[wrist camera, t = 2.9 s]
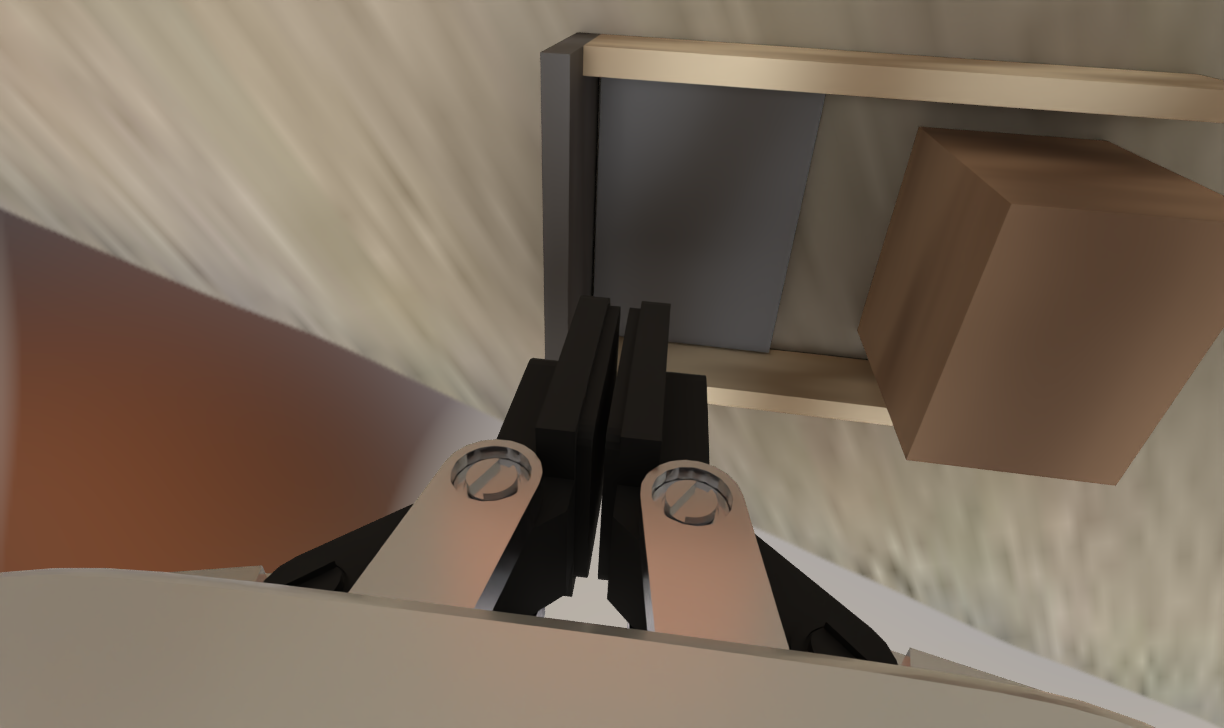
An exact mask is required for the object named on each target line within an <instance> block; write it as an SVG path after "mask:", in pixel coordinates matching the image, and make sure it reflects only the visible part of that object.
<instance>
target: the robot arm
mask: <svg viewBox="0 0 1224 728" xmlns="http://www.w3.org/2000/svg"><path fill="white" fill-rule="evenodd" d="M670 308H671V304H670V303H659V302H648V301H642V303H641V308H629V313H628V318H627V324H626V329H625V334H624V340H623V345H622V350H621V356H620V361H619V366H618V372H617V363H618V347H619V331H620V315H621V307H620V306H610V298H605V297H594V296H584V295H581V296H580V298H579V301H578V304H577V307H576V310H575V313H574V316H573V319H572V322H571V325H570V328H569V331H568V333H567V336H566V339H565V342H564V345H563V348H562V351H561V354H560V357H559V360H558V361H557V360H547V359H537V358H532V359H530V361H529V363H528V365H527V367H526V370H525V372H524V375H523V377H522V379H521V382H520V384H519V387H518V389H517V391H516V394H515V396H514V399H513V401H512V403H511V406H510V408H509V411H508V413H507V415H506V418H505V420H504V423H503V425H502V427H501V430H500V432H499V435H498V437H497V439H495V440H485V441H479V442H476V443H473V444H469V445H466V446H465V447H463V448H461V449H460V450H458V451H456V452H454V453H453V454H452V455H451V456H450V457H449V458H448V459H447V460H446V461H445V463H444V464H443V465H442V466H441V468H440V469H439V470H438V472H437V473H436V474H435V476H434V477H433V479H432V480H431V481H430V483H429V484H428V485H427V487H426V488H425V489H424V491H423V492H422V494H421V495H420V496H419V497H418V499H417V500H416V502H415V503H414V504H412V505H410V506H407V507H405V508H403V509H401V510H398V511H396V512H394V513H392V514H390V515H387V516H385V517H383V518H381V519H378V520H376V521H374V522H372V523H370V524H367V525H365V526H363V527H361V528H359V529H356V530H354V531H352V532H350V533H348V534H345V535H343V536H341V537H339V538H336V539H334V540H332V541H330V542H328V543H325V544H323V545H321V546H319V547H317V548H314V549H312V550H310V551H308V552H305V553H303V554H301V555H299V556H297V557H295V558H293V559H292V560H290V561H288V562H286V563H285V564H283V565H281V566H280V567H278V568H277V569H276V570H275V571H274V572H273V573H269V574H265V572H264V569H263V567H262V566H251V567H236V568H223V569H209V570H195V571H182V572H153V571H139V570H123V569H109V568H54V569H41V570H30V571H16V572H4V573H0V728H1155V727H1153V726H1151V725H1148V724H1146V723H1144V722H1141V721H1138V720H1135V719H1132V718H1130V717H1127V716H1124V715H1121V714H1118V713H1115V712H1112V711H1110V710H1106V709H1104V708H1101V707H1098V706H1095V705H1092V704H1089V703H1086V702H1083V701H1080V700H1076V699H1072V698H1068V697H1064V696H1060V695H1056V694H1052V693H1048V692H1044V691H1041V690H1038V689H1035V688H1032V687H1029V686H1026V685H1023V684H1020V683H1017V682H1014V681H1010V680H1007V679H1004V678H1001V677H998V676H995V675H992V674H989V673H986V672H983V671H980V670H977V669H973V668H971V667H968V666H965V665H961V664H958V663H955V662H952V661H949V660H946V659H943V658H940V657H937V656H934V655H931V654H928V653H925V652H922V651H918V650H915V649H912V648H910V649H909V650H908V652H907V654H906V655H903V654H900V653H897V652H894V651H891V650H890V649H889V647H888V646H887V644H886V642H884V641H883V639H882V638H881V637H880V636H879V635H878V634H877V633H876V632H874V630H872V628H870V627H869V626H868V625H867V624H866V623H864V622H863V621H862V620H861V619H859V618H858V617H857V616H856V615H854V614H853V613H852V612H851V611H849V610H848V609H847V608H846V607H845V606H843V605H842V604H841V603H840V602H838V601H837V600H836V599H835V598H833V597H832V596H831V595H829V594H828V593H827V592H826V591H825V590H823V589H822V588H821V587H820V586H819V585H817V584H816V583H815V582H813V581H812V580H811V579H810V578H809V577H807V576H806V575H805V574H804V573H803V572H801V571H800V570H799V569H798V568H796V567H795V566H794V565H792V564H791V563H790V562H789V561H788V560H786V559H785V558H784V557H783V556H781V555H780V554H779V553H778V552H777V551H775V550H774V549H773V548H772V547H770V546H769V545H768V544H767V543H765V542H764V541H763V540H762V539H761V538H759V537H758V536H757V535H756V534H755V533H754V530H753V526H752V523H751V520H750V516H749V513H748V510H747V506H746V503H745V500H744V496H743V494H742V492H741V490H740V488H739V486H738V484H737V483H736V482H735V481H734V480H733V479H732V478H731V477H730V476H729V475H728V474H727V473H725V472H723V471H722V470H720V469H718V468H717V467H715V466H712V465H709V435H708V404H707V379H706V375H696V374H686V373H677V372H667V371H666V368H667V353H668V338H669V323H670ZM601 499H602V509H601V528H600V547H599V565H598V579H601V580H608V594H607V599H608V600H609V602H610V603H611V604H612V605H613V606H614V607H615V608H616V609H617V611H618V612H619V613H620V614H621V615H622V616H623V617H624V618H625V619H626V620H627V622H628V623H627V628H621V627H614V626H606V625H598V624H590V623H583V622H575V621H568V620H560V619H552V618H544V615H545V607H546V606H547V605H549V604H551V603H552V602H554V601H555V600H557V599H559V598H560V597H562V596H570V597H572V594H573V589H574V584H575V579H576V576H578V577H586V578H587V577H588V574H589V569H590V563H591V557H592V551H593V546H594V540H595V534H596V528H597V522H598V517H599V511H600V505H601Z"/></svg>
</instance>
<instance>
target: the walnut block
mask: <svg viewBox="0 0 1224 728" xmlns="http://www.w3.org/2000/svg"><path fill="white" fill-rule="evenodd" d="M1223 328H1224V196H1223V195H1221V194H1219V193H1217V192H1215V191H1212V190H1210V189H1208V188H1206V187H1204V186H1202V185H1200V184H1198V183H1195V182H1193V181H1191V180H1189V179H1187V178H1185V177H1183V176H1181V175H1178V174H1176V173H1174V172H1172V171H1170V170H1168V169H1166V168H1164V167H1161V166H1159V165H1157V164H1155V163H1153V162H1151V161H1149V160H1147V159H1145V158H1142V157H1140V156H1138V155H1136V154H1134V153H1132V152H1130V151H1128V150H1125V149H1123V148H1121V147H1119V146H1117V145H1115V144H1113V143H1111V142H1108V141H1103V140H1090V139H1076V138H1063V137H1050V136H1037V135H1023V134H1010V133H997V132H984V131H970V130H957V129H944V128H931V127H919V128H918V132H917V135H916V138H915V141H914V145H913V148H912V151H911V155H910V158H909V161H908V165H907V168H906V171H905V174H904V178H903V181H902V184H901V188H900V191H899V194H898V197H897V201H896V204H895V207H894V211H893V214H892V217H891V220H890V224H889V227H888V230H887V234H886V237H885V240H884V244H883V247H882V250H881V253H880V257H879V260H878V263H877V267H876V270H875V273H874V276H873V280H872V283H871V286H870V290H869V293H868V296H867V300H866V303H865V306H864V309H863V313H862V316H861V319H860V323H859V326H858V329H857V331H858V334H859V336H860V339H861V341H862V344H863V347H864V349H865V352H866V355H867V357H868V360H869V363H870V365H871V368H872V371H873V373H874V376H875V378H876V381H877V384H878V386H879V389H880V392H881V394H882V397H883V400H884V402H885V405H886V408H887V410H888V413H889V415H890V418H891V421H892V423H893V426H894V429H895V431H896V434H897V437H898V439H899V442H900V444H901V447H902V450H903V452H904V455H905V458H906V460H912V461H920V462H928V463H936V464H944V465H953V466H961V467H969V468H977V469H985V470H993V471H1001V472H1010V473H1018V474H1026V475H1034V476H1042V477H1050V478H1058V479H1067V480H1075V481H1083V482H1091V483H1099V484H1107V485H1115V486H1116V484H1117V483H1118V481H1119V480H1120V479H1121V477H1122V476H1123V474H1124V473H1125V471H1126V470H1127V468H1128V467H1129V465H1130V464H1131V462H1132V461H1133V459H1134V458H1135V457H1136V455H1137V454H1138V452H1139V451H1140V449H1141V448H1142V446H1143V445H1144V443H1145V442H1146V440H1147V439H1148V438H1149V436H1150V435H1151V433H1152V432H1153V430H1154V429H1155V427H1156V426H1157V424H1158V423H1159V421H1160V420H1161V418H1162V417H1163V416H1164V414H1165V413H1166V411H1167V410H1168V408H1169V407H1170V405H1171V404H1172V402H1173V401H1174V399H1175V398H1176V396H1177V395H1178V394H1179V392H1180V391H1181V389H1182V388H1183V386H1184V385H1185V383H1186V382H1187V380H1188V379H1189V377H1190V376H1191V374H1192V373H1193V372H1194V370H1195V369H1196V367H1197V366H1198V364H1199V363H1200V361H1201V360H1202V358H1203V357H1204V355H1205V354H1206V352H1207V351H1208V350H1209V348H1210V347H1211V345H1212V344H1213V342H1214V341H1215V339H1216V338H1217V336H1218V335H1219V333H1220V332H1221V330H1222V329H1223Z"/></svg>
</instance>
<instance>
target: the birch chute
mask: <svg viewBox="0 0 1224 728" xmlns="http://www.w3.org/2000/svg"><path fill="white" fill-rule="evenodd" d="M540 60H541V124H542V188H543V251H544V315H545V359H547V360H557V361H558V360H559V357H560V354H561V351H562V348H563V345H564V342H565V339H566V336H567V333H568V331H569V328H570V325H571V322H572V319H573V316H574V313H575V310H576V307H577V304H578V301H579V298H580V296H581V295H584V296H593V266H594V235H595V205H596V174H597V143H598V112H599V82H600V77H601V97H600V127H599V156H598V186H597V216H596V245H595V275H594V297H605V298H610V306H620V307H621V315H620V331H619V347H618V363H617V372H618V366H619V361H620V356H621V350H622V345H623V340H624V334H625V329H626V324H627V318H628V313H629V308H641V303H642V301H648V302H659V303H670V304H671V308H670V323H669V338H668V353H667V368H666V371H667V372H677V373H686V374H696V375H706V379H707V404H715V405H723V406H731V407H740V408H748V409H756V410H765V411H773V412H781V413H789V414H798V415H806V416H814V417H823V418H831V419H839V420H848V421H856V422H864V423H872V424H881V425H889V426H893V423H892V421H891V418H890V415H889V413H888V410H887V408H886V405H885V402H884V400H883V397H882V394H881V392H880V389H879V386H878V384H877V381H876V378H875V376H874V373H873V371H872V368H871V365H870V363H869V360H862V359H853V358H844V357H835V356H826V355H817V354H808V353H799V352H790V351H781V350H772V349H770V345H771V340H772V336H773V331H774V327H775V322H776V318H777V313H778V309H779V304H780V300H781V295H782V291H783V286H784V281H785V277H786V272H787V268H788V263H789V259H790V254H791V250H792V245H793V241H794V236H795V232H796V227H797V223H798V218H799V213H800V209H801V204H802V200H803V195H804V191H805V186H806V182H807V177H808V173H809V168H810V164H811V159H812V155H813V150H814V145H815V141H816V136H817V132H818V127H819V123H820V118H821V114H822V109H823V105H824V100H825V96H826V94H838V95H851V96H865V97H878V98H892V99H905V100H919V101H932V102H946V103H959V104H973V105H986V106H1000V107H1013V108H1027V109H1040V110H1054V111H1067V112H1081V113H1094V114H1108V115H1121V116H1135V117H1148V118H1162V119H1175V120H1189V121H1202V122H1216V123H1224V80H1220V79H1215V78H1211V77H1207V76H1203V75H1197V74H1183V73H1168V72H1153V71H1138V70H1124V69H1109V68H1094V67H1079V66H1064V65H1050V64H1035V63H1020V62H1005V61H991V60H976V59H961V58H946V57H932V56H917V55H902V54H887V53H873V52H858V51H843V50H828V49H814V48H799V47H784V46H769V45H755V44H740V43H725V42H710V41H696V40H681V39H666V38H651V37H637V36H622V35H607V34H592V33H576V34H574V35H572V36H570V37H568V38H566V39H564V40H563V41H561V42H559V43H557V44H555V45H553V46H551V47H549V48H548V49H546V50H544V51H542V52H540Z"/></svg>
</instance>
